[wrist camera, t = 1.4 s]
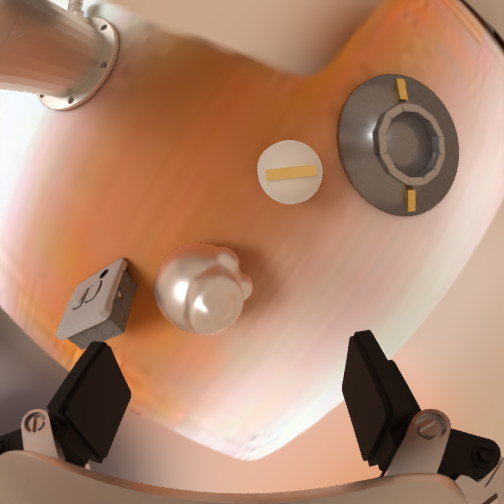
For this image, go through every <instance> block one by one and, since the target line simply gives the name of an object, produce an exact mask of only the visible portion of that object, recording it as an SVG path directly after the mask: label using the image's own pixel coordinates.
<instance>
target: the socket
mask: <svg viewBox="0 0 504 504" xmlns="http://www.w3.org/2000/svg"><path fill="white" fill-rule="evenodd" d="M337 146H338V152H339V157H340V160H341V164H342V166H343V169H344V171H345V174H346V175H347V177H348V179H349V181H350V182H351V184H352V185H353V187H354V188H355V190H356V191H357V192H358V193H359V194H360V195H361V196H362V197H363V198H364V199H365V200H366V201H368V202H369V203H370V204H372V205H373V206H375V207H377V208H379V209H381V210H383V211H385V212H387V213H390V214H394V215H399V216H412V215H418V214H421V213H424V212H426V211H428V210H430V209H431V208H433V207H434V206H436V205H437V204H438V203H439V202H440V201H441V200H442V199H443V198H444V197H445V195H446V194H447V193H448V191H449V189H450V188H451V186H452V183H453V181H454V179H455V175H456V172H457V167H458V160H459V145H458V138H457V133H456V129H455V126H454V123H453V121H452V118H451V116H450V114H449V112H448V111H447V109H446V107H445V106H444V104H443V103H442V101H441V100H440V99H439V98H438V97H437V96H436V94H435V93H434V92H432V91H431V90H430V89H429V88H428V87H426V86H425V85H423V84H422V83H420V82H419V81H417V80H415V79H412V78H410V77H407V76H403V75H397V74H386V75H380V76H376V77H374V78H371V79H369V80H367V81H365V82H364V83H362V84H361V85H359V86H358V87H357V88H356V89H355V90H354V91H353V92H352V93H351V94H350V95H349V97H348V98H347V100H346V101H345V103H344V105H343V107H342V110H341V113H340V116H339V121H338V126H337Z"/></svg>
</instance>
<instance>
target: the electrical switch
mask: <svg viewBox="0 0 504 504" xmlns="http://www.w3.org/2000/svg"><path fill="white" fill-rule="evenodd" d="M127 264H128V263H127V262H126V261H125V260H124V259H123V258H120V259H118V260H117V261H115V262H113V263H112V264H110V265H108V266H107V267H105V268H103V269H102V270H100V271H99V272H97V273H95V274H94V275H92V276H90V277H89V278H87V279H86V280H84V281H83V282H81V283H80V284H78V286H77V287H76V289H75V291H74V293H73V295H72V297H71V299H70V301H69V303H68V305H67V308H66V310H65V312H64V314H63V317H62V319H61V321H60V324H59V326H58V329H57V331H56V336H57V337H58V338H59V339H60V341H62V340H64V339H66V338H68V339H69V340H70V341H71V342H73V343H75V344H76V345H77V346H78V347H79V348H80V349H82V350H83V349H85V348H87V347H88V346H89V345H90V343H91V342H92V341H99V342H102V341H105V340H107V339H110V338H112V337H115V336H117V335H120V334H122V333H124V332H123V331H125V327H126V323H127V319H128V315H129V311H130V307H131V303H132V299H133V296H134V292H135V289H136V285H137V284H136V283H135V282H134V281H133V280H132V278H131V277H130V276H129V274H128V273H127V272H126V271H125V269H126V267H127ZM123 291H124V292H125V293H124V292H123ZM122 296H123V300H122V299H121V297H122ZM91 328H92V329H91ZM122 330H123V331H122ZM87 344H88V345H87Z"/></svg>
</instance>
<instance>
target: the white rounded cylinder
mask: <svg viewBox="0 0 504 504" xmlns="http://www.w3.org/2000/svg"><path fill="white" fill-rule="evenodd" d="M257 174H258V178H259V182H260V185H261V187H262V189H263V190H264V191H265V193H266V194H267V195H268V196H269V197H271V198H272V199H273V200H275V201H277V202H280V203H283V204H298V203H301V202H304V201H306V200H308V199H309V198H311V197H312V196H313V195H314V194H315V193H316V191H317V190H318V188H319V186H320V184H321V181H322V176H323V169H322V164H321V161H320V159H319V157H318V155H317V154H316V152H315V151H314V150H313V149H312V148H311V147H309V146H308V145H306V144H305V143H302V142H300V141H296V140H285V141H280V142H277V143H275V144H273V145H272V146H270V147H268V148H267V149H265V150H264V151H263V152H262V154H261V155H260V157H259V159H258V162H257Z"/></svg>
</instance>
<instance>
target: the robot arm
mask: <svg viewBox="0 0 504 504" xmlns="http://www.w3.org/2000/svg"><path fill="white" fill-rule="evenodd" d="M82 4H83V0H69V3H68V11H66V10H65V9H63V8H61V7H60V6H58V5H56V4H54V3H53V2H51V1H49V0H0V89H4V90H13V91H21V92H28V93H35V94H37V96H38V98H39V100H40V101H41V103H42V104H43V105H44V106H46V107H48V108H49V109H54V110H69V109H72V108H74V107H77V106H79V105H80V104H82V103H84V102H85V101H87V100H88V99H89V98H90V97H91V96H93V95H94V94H95V93H96V91H97V90H98V89H99V88H100V87H101V86H102V84H103V83H104V82H105V80H106V79H107V77H108V76H109V74H110V72H111V70H112V68H113V66H114V63H115V61H116V57H117V53H118V45H119V41H118V35H117V32H116V30H115V28H114V27H113V26H112V24H110V23H109V22H108V21H107V20H105V19H102V18H100V17H84V16H83V15H84V12H83V11H82V10H81V7H82ZM342 392H343V396H344V399H345V402H346V405H347V409H348V412H349V415H350V418H351V422H352V425H353V428H354V431H355V435H356V438H357V442H358V445H359V448H360V451H361V455H362V458H363V460H364V461H367V460H368V463H369V467H370V466H374V465H378V466H379V470H381V471H382V472H381V474H380V476H379V477H378V478H373V479H368V480H363V481H357V482H353V483H347V484H342V485H336V486H331V487H324V488H317V489H309V490H300V491H290V492H277V493H253V494H235V493H234V494H233V493H211V492H198V491H188V490H179V489H172V488H165V487H158V486H153V485H148V484H143V483H138V482H133V481H128V480H125V479H121V478H117V477H113V476H109V475H106V474H102V473H99V472H96V471H93V470H90V467H89V465H88V460H89V459H90V460H91V461H94V462H98V463H102V461H103V458H105V457H107V455H108V453H109V450H110V447H111V445H112V442H113V440H114V437H115V435H116V432H117V430H118V427H119V425H120V422H121V420H122V417H123V415H124V413H125V410H126V408H127V406H128V403H129V401H130V398H131V391H130V389H129V387H128V385H127V383H126V381H125V379H124V376H123V374H122V372H121V370H120V368H119V365H118V363H117V361H116V359H115V356H114V354H113V352H112V349H111V347H110V346H108V345H107V343H106V342H99V341H92V342H91V343H90V345H89V346H88V347H87V349H86V350H85V351H84V353H83V354H82V356H81V357H80V358H79V360H78V361H77V363H76V364H75V366H74V367H73V368H72V370H71V371H70V373H69V374H68V376H67V377H66V379H65V380H64V382H63V383H62V384H61V386H60V387H59V389H58V391H57V392H56V394H55V395H54V397H53V398H52V400H51V401H50V403H49V404H48V406H47V408H48V410H49V412H48V414H47V413H46V412H45V411H44V410H41V409H35V410H32V411H30V412H28V413H27V414H26V415H25V416H24V418H23V420H22V423H21V429H19V430H16V431H14V432H11V433H8V434H5V435H3V436H0V504H469V503H470V504H504V457H502V456H501V452H500V448H499V446H498V445H497V444H496V443H495V442H494V441H493V440H490V439H487V438H483V437H480V436H476V435H472V434H468V433H465V432H462V431H459V430H455V429H452V428H451V423H450V420H449V418H448V417H447V415H445V414H444V413H443V412H441V411H439V410H436V409H426V410H423V411H421V409H420V407H419V405H418V404H417V401H416V400H415V398H414V396H413V394H412V392H411V390H410V389H409V387H408V385H407V383H406V381H405V380H404V378H403V376H402V374H401V372H400V371H399V369H398V367H397V366H396V364H395V362H394V361H393V360H387V358H386V356H385V354H384V353H383V351H382V349H381V347H380V346H379V344H378V342H377V340H376V339H375V337H374V335H373V334H372V332H371V331H370V330H365V331H359V332H355V334H354V336H351V337H350V339H349V346H348V353H347V359H346V366H345V372H344V378H343V383H342ZM466 498H467V499H468V501H467V499H466Z"/></svg>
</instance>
